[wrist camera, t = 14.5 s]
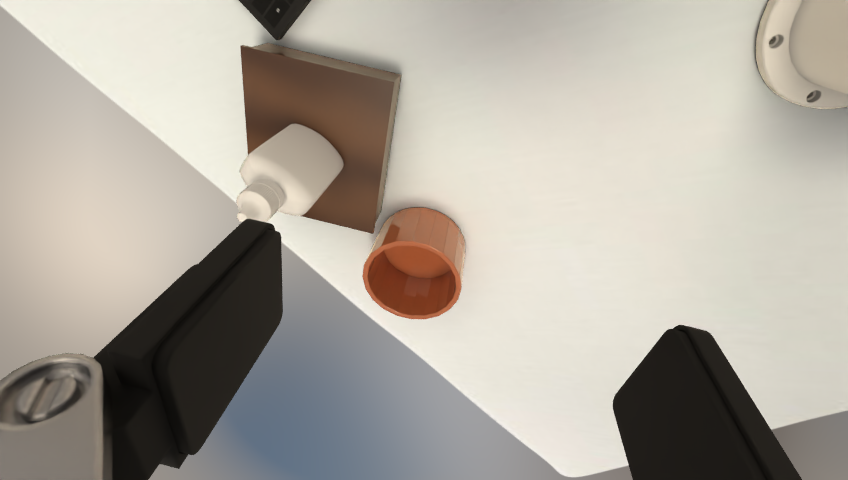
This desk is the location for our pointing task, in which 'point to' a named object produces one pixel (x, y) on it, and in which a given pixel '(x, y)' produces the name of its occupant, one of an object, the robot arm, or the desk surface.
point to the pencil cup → (416, 264)
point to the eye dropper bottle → (287, 174)
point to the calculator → (276, 14)
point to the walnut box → (326, 121)
